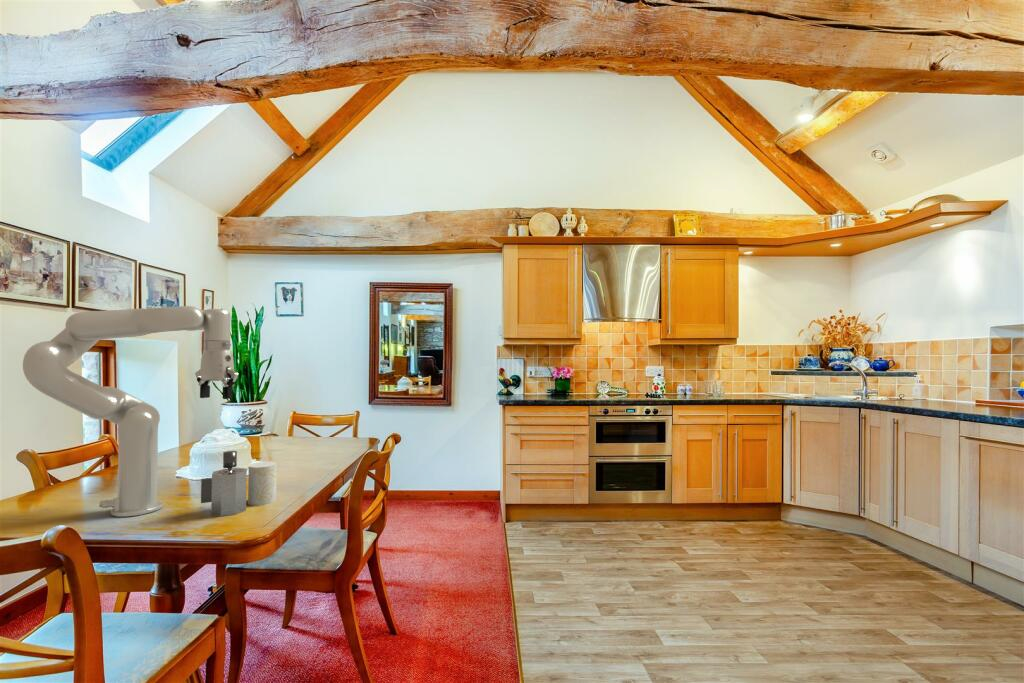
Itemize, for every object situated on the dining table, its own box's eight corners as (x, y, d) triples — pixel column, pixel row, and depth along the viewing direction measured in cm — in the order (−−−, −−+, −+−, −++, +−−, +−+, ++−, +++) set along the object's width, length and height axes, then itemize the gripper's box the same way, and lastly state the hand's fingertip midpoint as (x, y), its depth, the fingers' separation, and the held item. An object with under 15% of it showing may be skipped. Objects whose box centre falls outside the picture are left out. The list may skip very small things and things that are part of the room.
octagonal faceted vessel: (199, 519, 141) (199, 477, 141) (202, 510, 149) (203, 470, 149) (245, 513, 146) (246, 473, 146) (246, 504, 154) (246, 466, 154)
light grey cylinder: (251, 507, 152) (251, 468, 152) (245, 500, 158) (246, 464, 158) (279, 502, 157) (279, 464, 157) (272, 496, 163) (273, 460, 163)
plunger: (221, 510, 146) (222, 453, 146) (222, 506, 149) (223, 451, 149) (235, 508, 147) (236, 452, 148) (236, 505, 150) (237, 450, 151)
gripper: (246, 346, 161) (246, 398, 161) (207, 346, 166) (206, 396, 166) (227, 346, 154) (226, 400, 153) (186, 346, 159) (185, 398, 159)
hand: (216, 398), depth 160 cm, fingers open, 9 cm apart
